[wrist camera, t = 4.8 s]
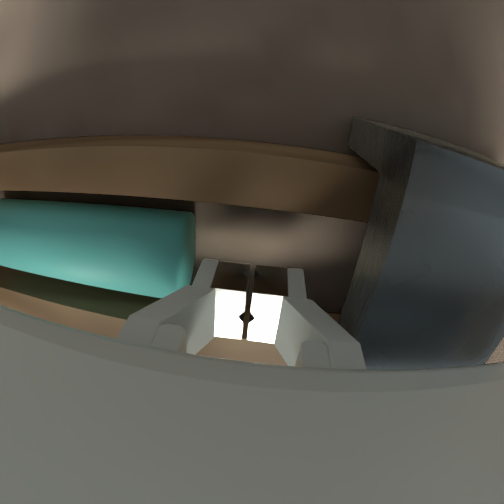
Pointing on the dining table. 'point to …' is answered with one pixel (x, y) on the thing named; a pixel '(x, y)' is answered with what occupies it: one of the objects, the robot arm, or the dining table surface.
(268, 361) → the guide
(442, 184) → the plate
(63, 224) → the dowel
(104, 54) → the dining table surface
